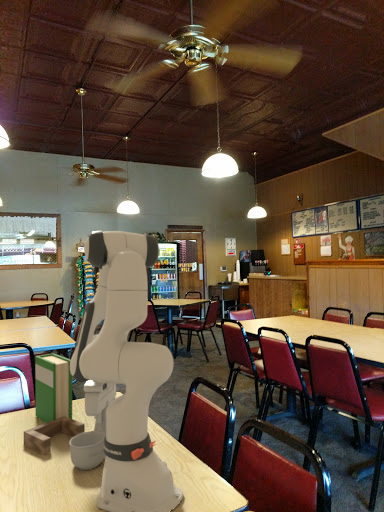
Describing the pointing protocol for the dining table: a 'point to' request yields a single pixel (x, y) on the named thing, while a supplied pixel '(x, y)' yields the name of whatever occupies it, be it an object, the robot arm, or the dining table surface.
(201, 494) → the dining table surface
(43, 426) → the walnut holder
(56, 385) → the hardback book
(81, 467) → the teacup
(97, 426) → the salt shaker
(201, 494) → the dining table surface
